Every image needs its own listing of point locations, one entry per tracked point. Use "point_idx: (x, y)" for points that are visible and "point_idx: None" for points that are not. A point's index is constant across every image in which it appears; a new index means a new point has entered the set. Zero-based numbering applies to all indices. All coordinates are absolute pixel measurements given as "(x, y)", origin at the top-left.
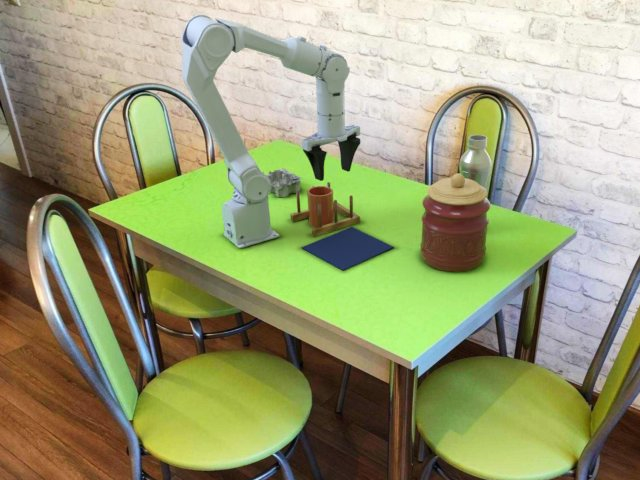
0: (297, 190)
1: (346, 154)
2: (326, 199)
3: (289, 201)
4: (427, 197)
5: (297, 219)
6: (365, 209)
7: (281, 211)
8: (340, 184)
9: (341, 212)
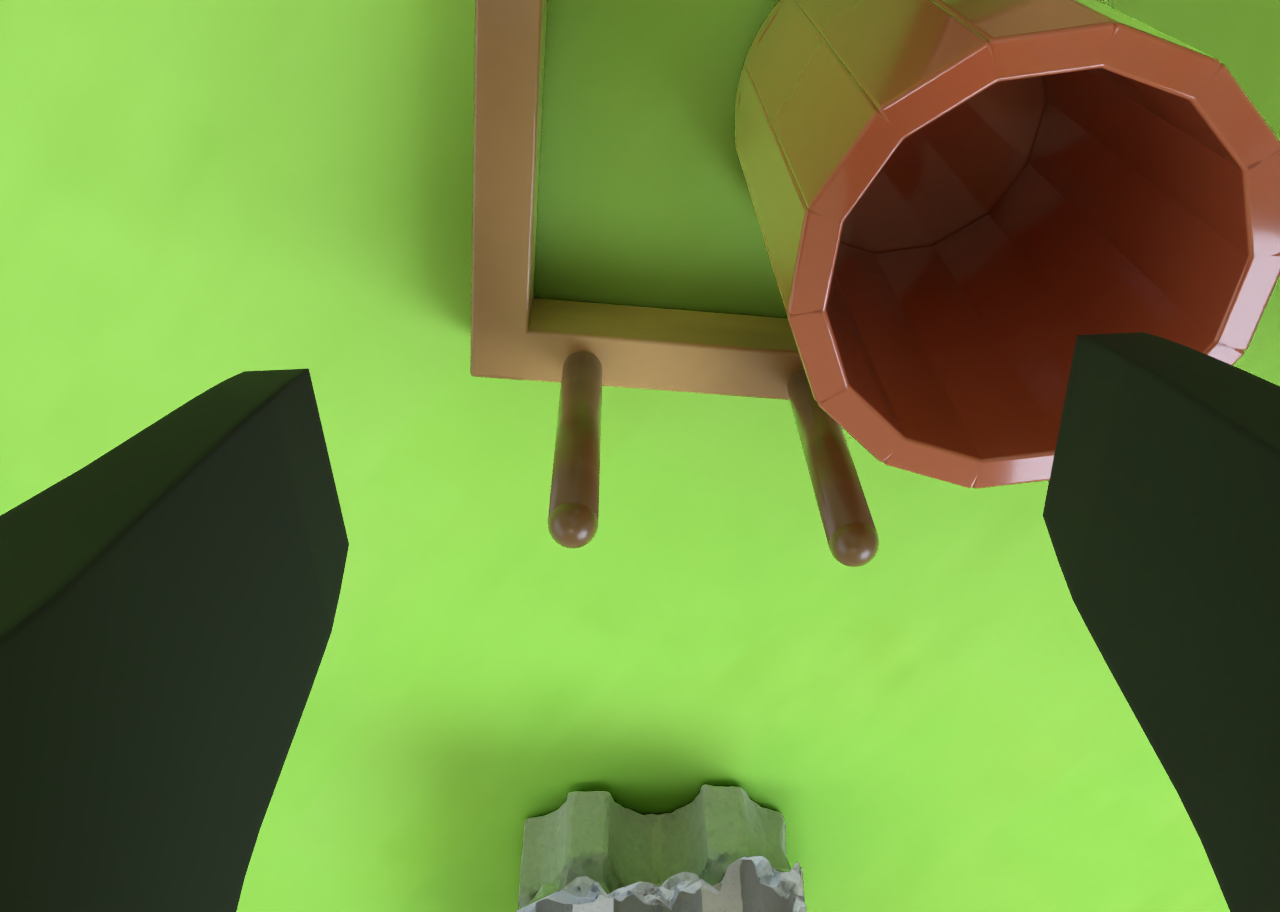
0: None
1: (161, 712)
2: (1094, 11)
3: (766, 707)
4: None
5: None
6: (181, 49)
7: (980, 596)
8: None
9: (538, 147)
